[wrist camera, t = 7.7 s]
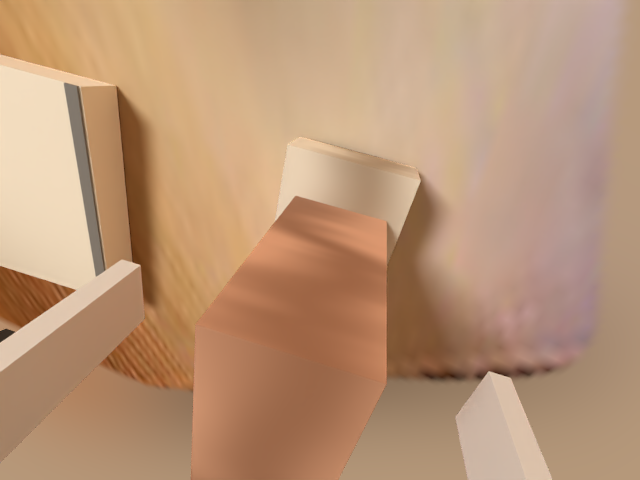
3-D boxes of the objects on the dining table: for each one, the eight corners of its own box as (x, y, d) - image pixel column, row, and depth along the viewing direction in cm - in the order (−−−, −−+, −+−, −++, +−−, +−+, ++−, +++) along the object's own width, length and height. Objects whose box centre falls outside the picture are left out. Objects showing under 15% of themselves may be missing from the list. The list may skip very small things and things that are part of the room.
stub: (265, 326, 20) (170, 518, 11) (299, 136, 14) (160, 229, 5) (346, 351, 20) (315, 570, 11) (416, 167, 14) (466, 320, 5)
